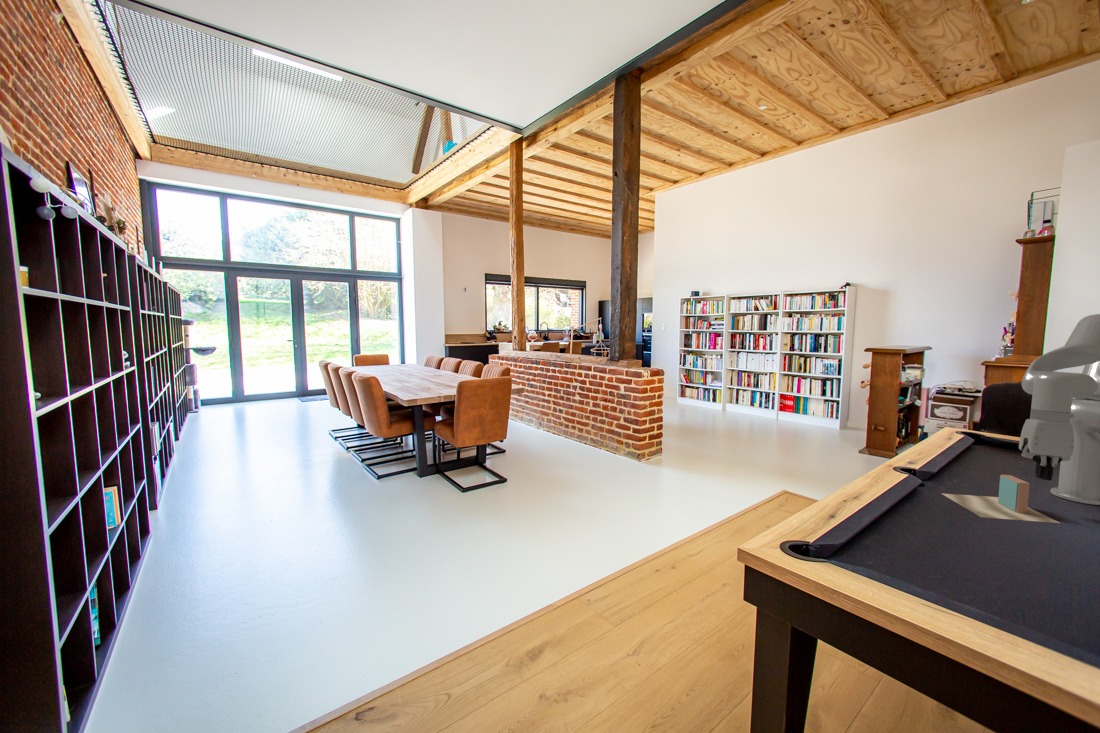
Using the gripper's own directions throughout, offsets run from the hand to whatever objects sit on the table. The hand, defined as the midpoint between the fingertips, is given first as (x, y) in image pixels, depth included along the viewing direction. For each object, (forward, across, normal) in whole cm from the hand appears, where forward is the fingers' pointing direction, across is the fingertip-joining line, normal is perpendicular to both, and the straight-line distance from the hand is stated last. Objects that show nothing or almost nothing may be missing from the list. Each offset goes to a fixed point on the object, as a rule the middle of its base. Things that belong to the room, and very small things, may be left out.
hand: (1043, 478), depth 126 cm
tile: (+10, +6, -1) cm, 12 cm away
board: (+11, +10, -1) cm, 15 cm away
